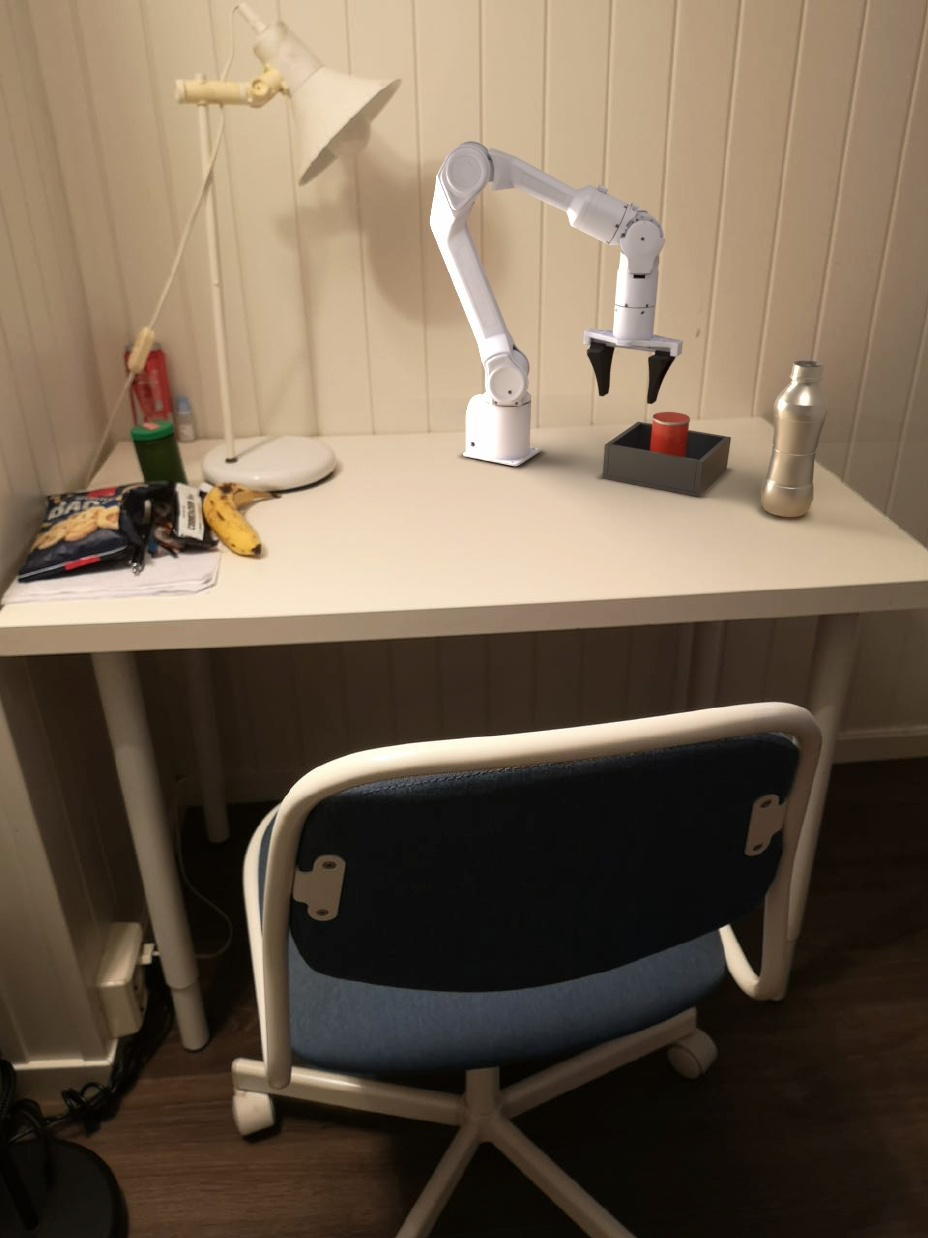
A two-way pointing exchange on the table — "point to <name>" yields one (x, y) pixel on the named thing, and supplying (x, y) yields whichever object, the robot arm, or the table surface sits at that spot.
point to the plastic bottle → (795, 441)
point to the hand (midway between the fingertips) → (627, 398)
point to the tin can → (670, 433)
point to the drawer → (666, 461)
